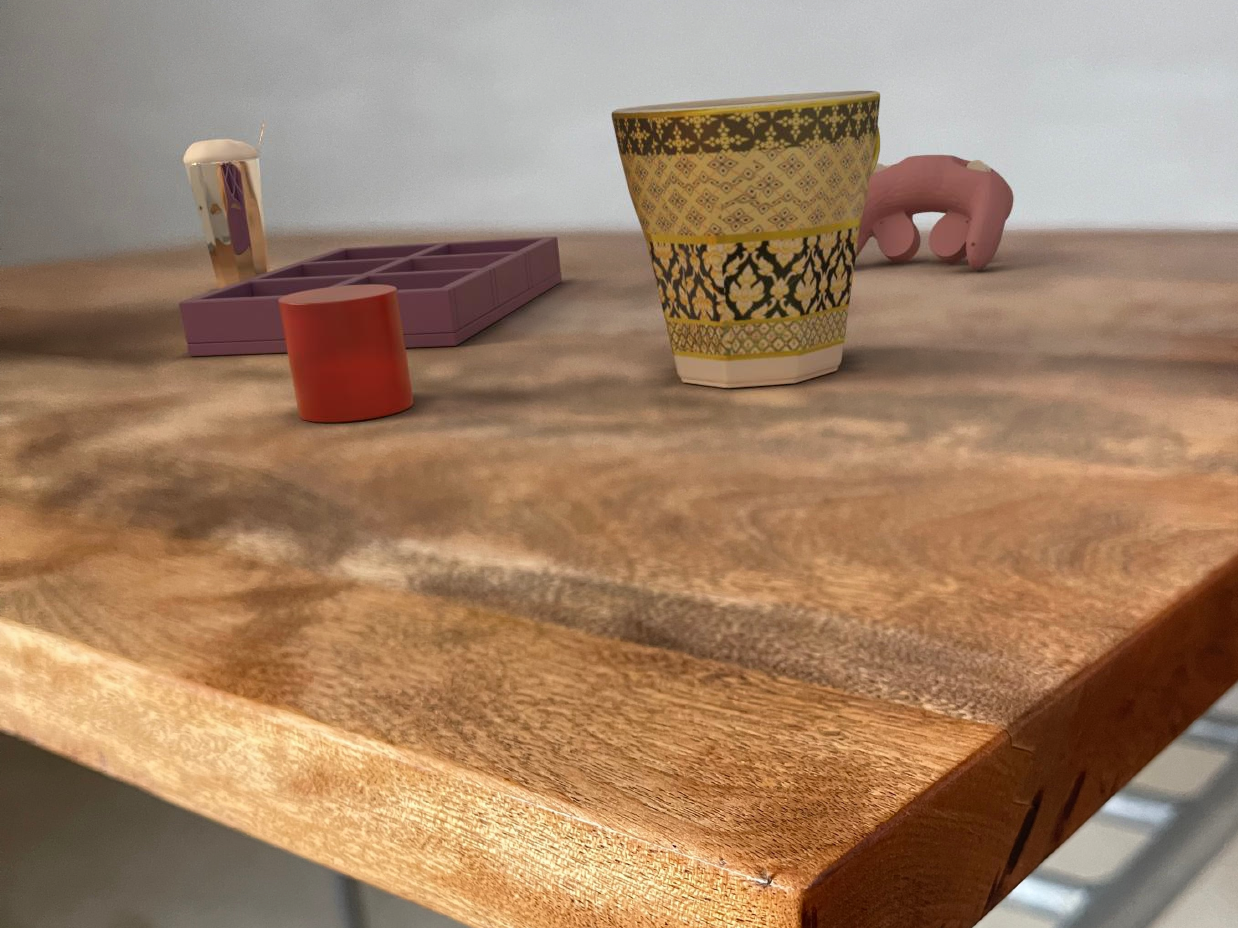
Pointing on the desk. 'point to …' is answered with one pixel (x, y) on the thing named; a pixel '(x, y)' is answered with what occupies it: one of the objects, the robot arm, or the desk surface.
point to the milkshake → (229, 206)
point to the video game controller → (937, 208)
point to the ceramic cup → (752, 227)
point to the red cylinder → (346, 352)
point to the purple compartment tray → (422, 273)
